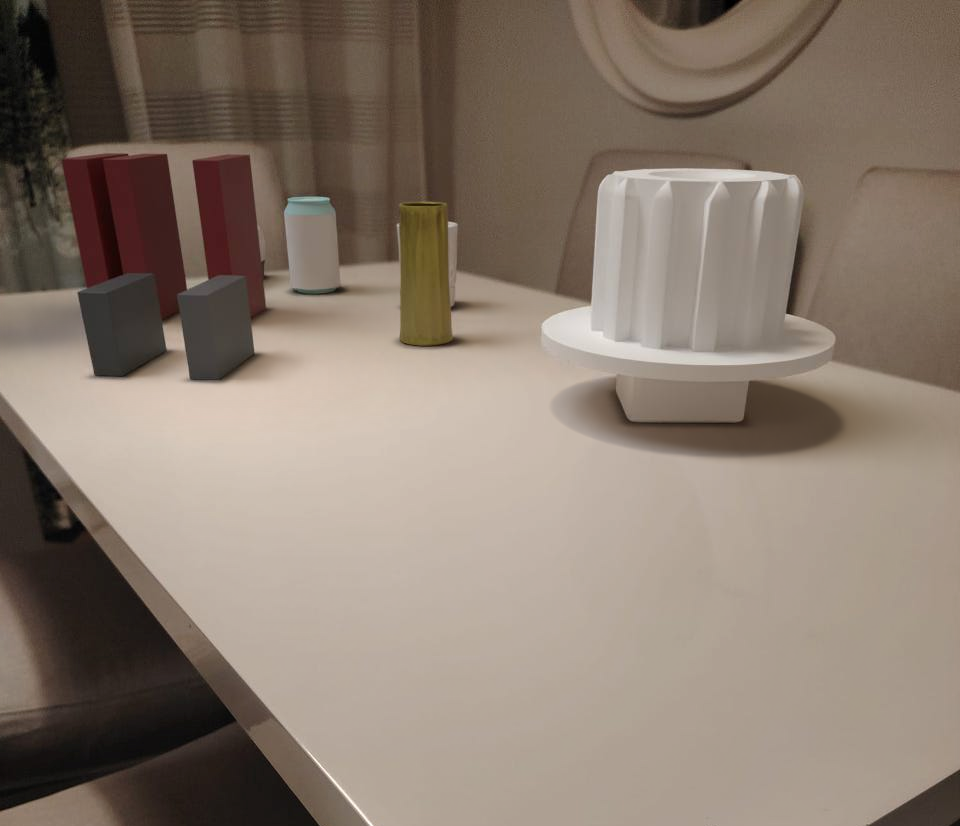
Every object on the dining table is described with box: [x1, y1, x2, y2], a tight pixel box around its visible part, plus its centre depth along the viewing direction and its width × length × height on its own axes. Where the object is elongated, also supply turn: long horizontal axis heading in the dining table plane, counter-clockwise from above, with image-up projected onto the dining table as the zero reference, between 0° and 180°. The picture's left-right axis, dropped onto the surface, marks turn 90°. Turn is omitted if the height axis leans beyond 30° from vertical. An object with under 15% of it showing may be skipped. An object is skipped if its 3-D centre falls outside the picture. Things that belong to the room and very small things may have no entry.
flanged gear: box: [540, 167, 836, 424], centre depth 80 cm, size 25×25×19 cm
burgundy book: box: [191, 153, 267, 318], centre depth 114 cm, size 3×11×18 cm, turn 173°
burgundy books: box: [60, 152, 188, 321], centre depth 116 cm, size 8×11×18 cm
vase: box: [398, 201, 454, 347], centre depth 104 cm, size 6×6×14 cm
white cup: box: [396, 221, 459, 308], centre depth 123 cm, size 8×8×10 cm
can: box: [283, 196, 341, 295], centre depth 132 cm, size 7×7×12 cm
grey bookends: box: [77, 273, 256, 381], centre depth 96 cm, size 13×11×8 cm
